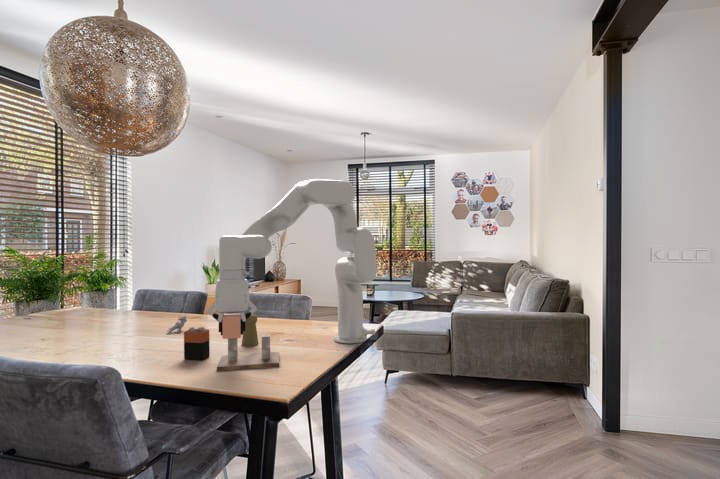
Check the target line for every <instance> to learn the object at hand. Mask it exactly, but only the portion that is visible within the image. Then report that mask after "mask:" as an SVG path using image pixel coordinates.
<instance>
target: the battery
mask: <svg viewBox="0 0 720 479" xmlns="http://www.w3.org/2000/svg"><path fill="white" fill-rule="evenodd" d="M210 351H211V350H210V329H206V328H205V327H203V326H200V327H198V328H195V327H193V326H192V327H189V329H187V330H184V332H183V352H184V353H183V359H184V360H187V361H204V360H206V359H208V358H210V357H211V356H210V355H211V354H210Z"/></svg>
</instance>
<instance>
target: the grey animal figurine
mask: <svg viewBox="0 0 720 479" xmlns="http://www.w3.org/2000/svg"><path fill="white" fill-rule="evenodd" d="M177 319H178V321H176V323H174V325H173V326H171V327H169V328H168V330H167V333H168V334H171V333H172V332H174V331H176V330H180V332H182V328H183V327H184V326H185V324H186V322H187V320H188V319H187V316H186V315H185V316H181V317H180V316H179V317H178V318H177Z"/></svg>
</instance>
